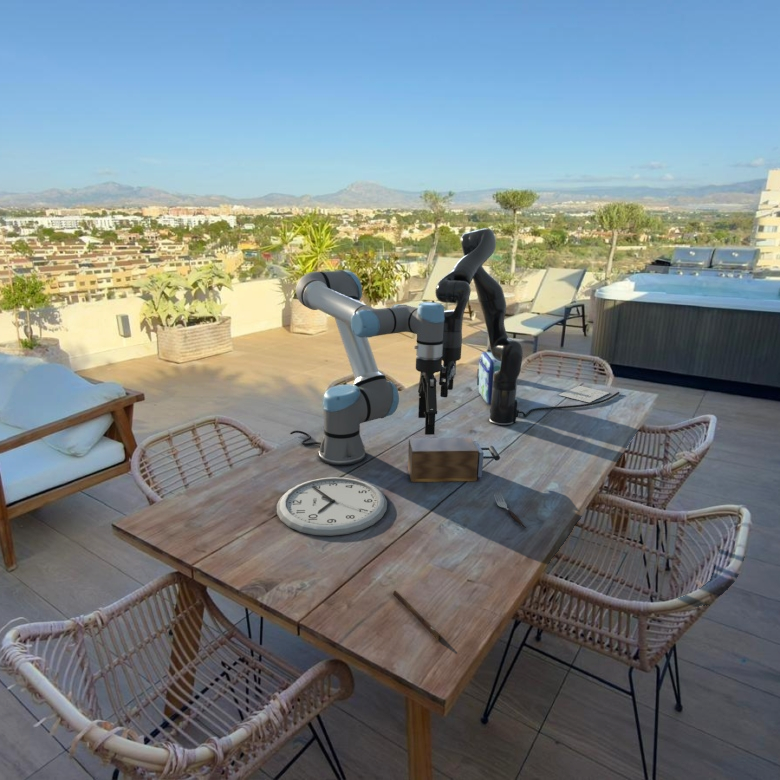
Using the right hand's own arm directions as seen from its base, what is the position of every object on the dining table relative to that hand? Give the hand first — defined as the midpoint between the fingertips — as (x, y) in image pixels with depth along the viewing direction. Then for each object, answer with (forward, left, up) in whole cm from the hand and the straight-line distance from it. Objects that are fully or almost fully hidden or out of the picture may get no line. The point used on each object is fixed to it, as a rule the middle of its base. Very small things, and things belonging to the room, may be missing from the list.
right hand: (446, 393), depth 170 cm
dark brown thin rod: (+32, +72, -22) cm, 81 cm away
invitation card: (-87, -49, -22) cm, 103 cm away
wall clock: (+41, +25, -22) cm, 53 cm away
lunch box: (-41, -51, -22) cm, 69 cm away
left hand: (+11, +12, -6) cm, 17 cm away
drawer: (+1, +15, -21) cm, 25 cm away
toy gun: (-55, -88, -22) cm, 106 cm away
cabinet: (+6, +14, -22) cm, 26 cm away
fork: (-4, +41, -22) cm, 46 cm away
